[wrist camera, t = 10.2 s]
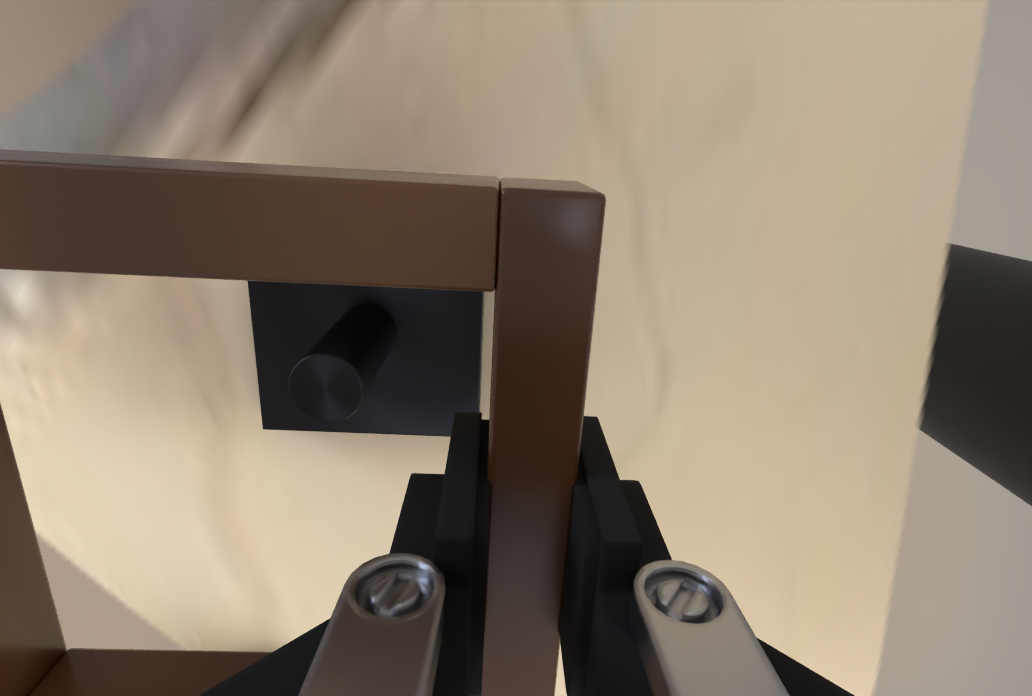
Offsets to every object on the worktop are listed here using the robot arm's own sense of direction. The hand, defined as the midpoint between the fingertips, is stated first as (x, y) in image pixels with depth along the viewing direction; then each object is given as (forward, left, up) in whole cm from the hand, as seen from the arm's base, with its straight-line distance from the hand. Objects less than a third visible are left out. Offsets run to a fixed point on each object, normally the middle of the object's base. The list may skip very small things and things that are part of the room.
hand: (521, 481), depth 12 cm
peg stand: (+5, 0, -10) cm, 12 cm away
